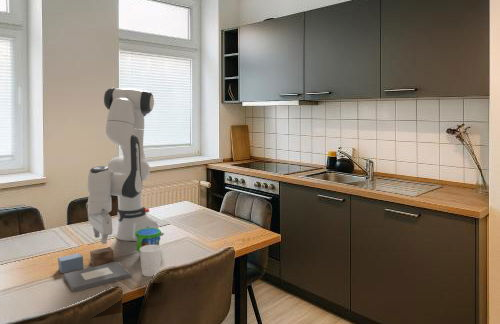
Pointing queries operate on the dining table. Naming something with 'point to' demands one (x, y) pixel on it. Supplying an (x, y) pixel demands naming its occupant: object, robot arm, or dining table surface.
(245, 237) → the dining table surface
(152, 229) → the snack cup
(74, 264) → the blue brick
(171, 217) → the dining table surface
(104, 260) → the walnut brick
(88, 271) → the baseplate
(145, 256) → the white cup
